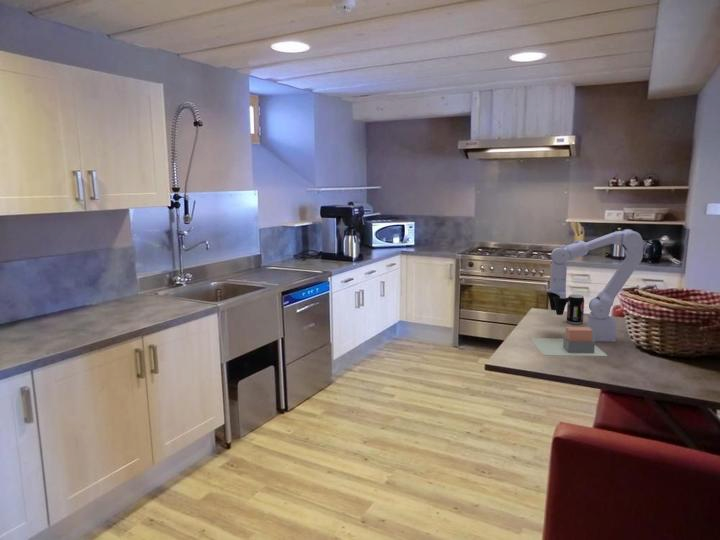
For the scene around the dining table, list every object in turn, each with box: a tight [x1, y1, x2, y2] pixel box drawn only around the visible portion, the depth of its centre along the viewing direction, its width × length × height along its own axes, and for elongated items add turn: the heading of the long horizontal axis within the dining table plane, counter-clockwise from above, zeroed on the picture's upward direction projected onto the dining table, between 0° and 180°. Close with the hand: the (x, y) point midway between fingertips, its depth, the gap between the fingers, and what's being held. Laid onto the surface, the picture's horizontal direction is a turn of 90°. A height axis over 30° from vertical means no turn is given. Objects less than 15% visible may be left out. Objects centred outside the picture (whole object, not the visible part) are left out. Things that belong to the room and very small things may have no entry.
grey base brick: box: [563, 336, 596, 353], centre depth 184 cm, size 9×6×4 cm, turn 85°
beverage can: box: [566, 294, 585, 325], centre depth 221 cm, size 7×7×12 cm
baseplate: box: [529, 337, 608, 357], centre depth 189 cm, size 22×20×1 cm
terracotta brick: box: [564, 326, 593, 341], centre depth 184 cm, size 8×4×4 cm, turn 85°
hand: (556, 312), depth 201 cm, fingers open, 7 cm apart
